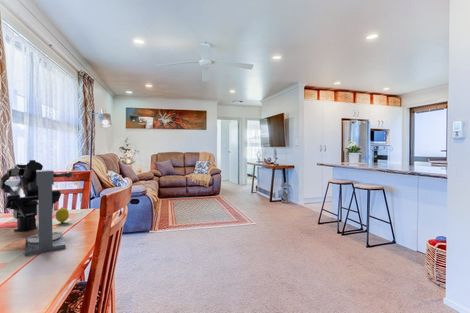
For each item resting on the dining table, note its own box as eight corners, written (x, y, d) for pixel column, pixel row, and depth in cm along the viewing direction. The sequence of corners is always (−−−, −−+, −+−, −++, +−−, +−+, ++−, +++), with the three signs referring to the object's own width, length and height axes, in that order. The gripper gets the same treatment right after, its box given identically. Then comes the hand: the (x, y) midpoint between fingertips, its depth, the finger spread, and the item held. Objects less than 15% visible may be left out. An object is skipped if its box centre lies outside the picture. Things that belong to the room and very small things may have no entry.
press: (26, 241, 105) (25, 168, 104) (68, 234, 114) (68, 166, 113) (24, 257, 90) (23, 172, 89) (73, 247, 99) (73, 170, 98)
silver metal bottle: (34, 236, 103) (34, 201, 102) (49, 233, 107) (48, 199, 106) (40, 239, 100) (39, 202, 100) (54, 235, 104) (54, 200, 104)
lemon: (54, 225, 126) (54, 209, 126) (56, 222, 131) (56, 206, 131) (68, 223, 129) (68, 207, 129) (69, 220, 134) (69, 205, 134)
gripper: (6, 175, 103) (13, 207, 97) (59, 172, 118) (68, 199, 111) (2, 192, 108) (8, 223, 102) (53, 187, 123) (62, 214, 117)
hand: (38, 214), depth 108 cm, fingers open, 9 cm apart
